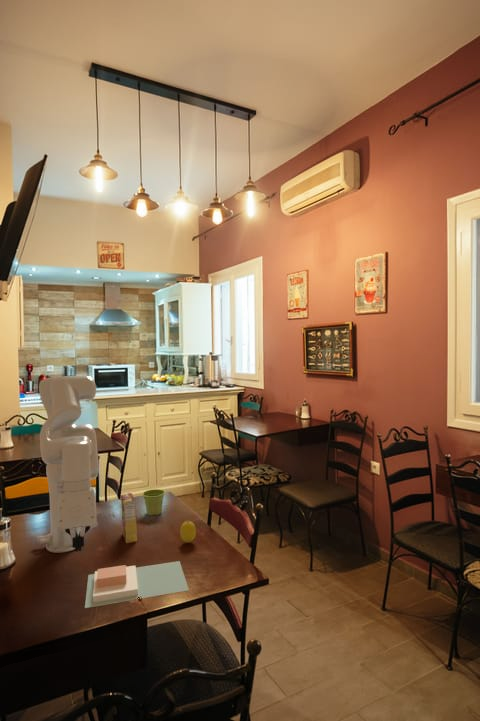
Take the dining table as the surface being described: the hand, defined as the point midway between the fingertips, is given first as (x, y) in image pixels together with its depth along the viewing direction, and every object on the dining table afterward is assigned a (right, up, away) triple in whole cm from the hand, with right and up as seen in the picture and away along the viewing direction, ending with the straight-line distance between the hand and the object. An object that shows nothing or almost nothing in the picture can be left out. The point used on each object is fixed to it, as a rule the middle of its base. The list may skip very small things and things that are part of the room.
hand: (78, 549), depth 123 cm
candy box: (+5, -12, +37) cm, 39 cm away
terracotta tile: (+9, -11, +3) cm, 14 cm away
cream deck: (+10, -12, +4) cm, 16 cm away
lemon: (+27, -12, +32) cm, 43 cm away
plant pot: (+9, -11, +61) cm, 63 cm away
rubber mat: (+15, -12, +5) cm, 20 cm away
